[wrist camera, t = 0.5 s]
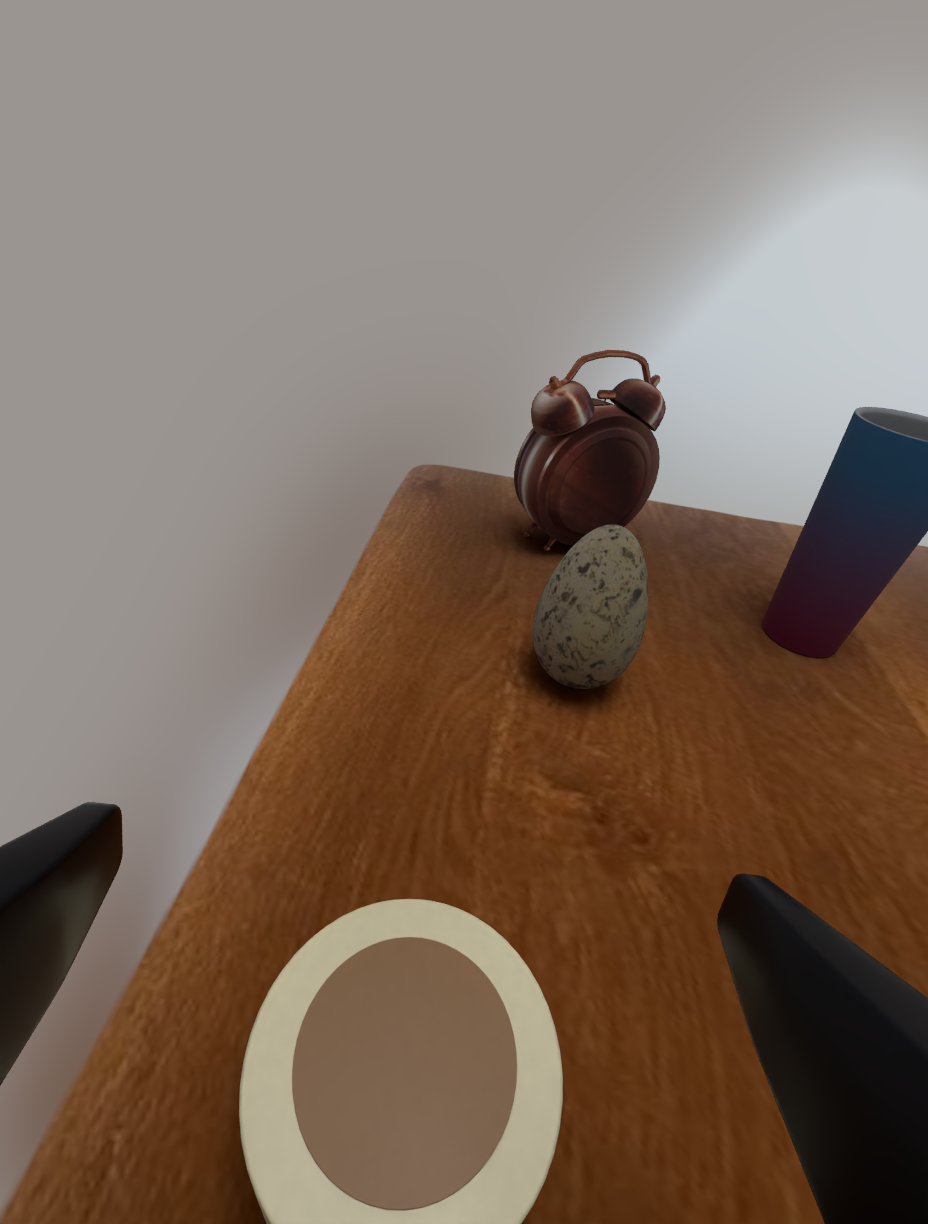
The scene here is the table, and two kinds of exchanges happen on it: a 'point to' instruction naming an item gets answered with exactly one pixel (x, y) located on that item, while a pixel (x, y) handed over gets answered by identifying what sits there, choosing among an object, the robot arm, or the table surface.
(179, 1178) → the table surface
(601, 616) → the decorative egg
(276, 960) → the table surface
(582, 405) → the alarm clock
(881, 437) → the cup
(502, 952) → the tape
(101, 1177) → the table surface
